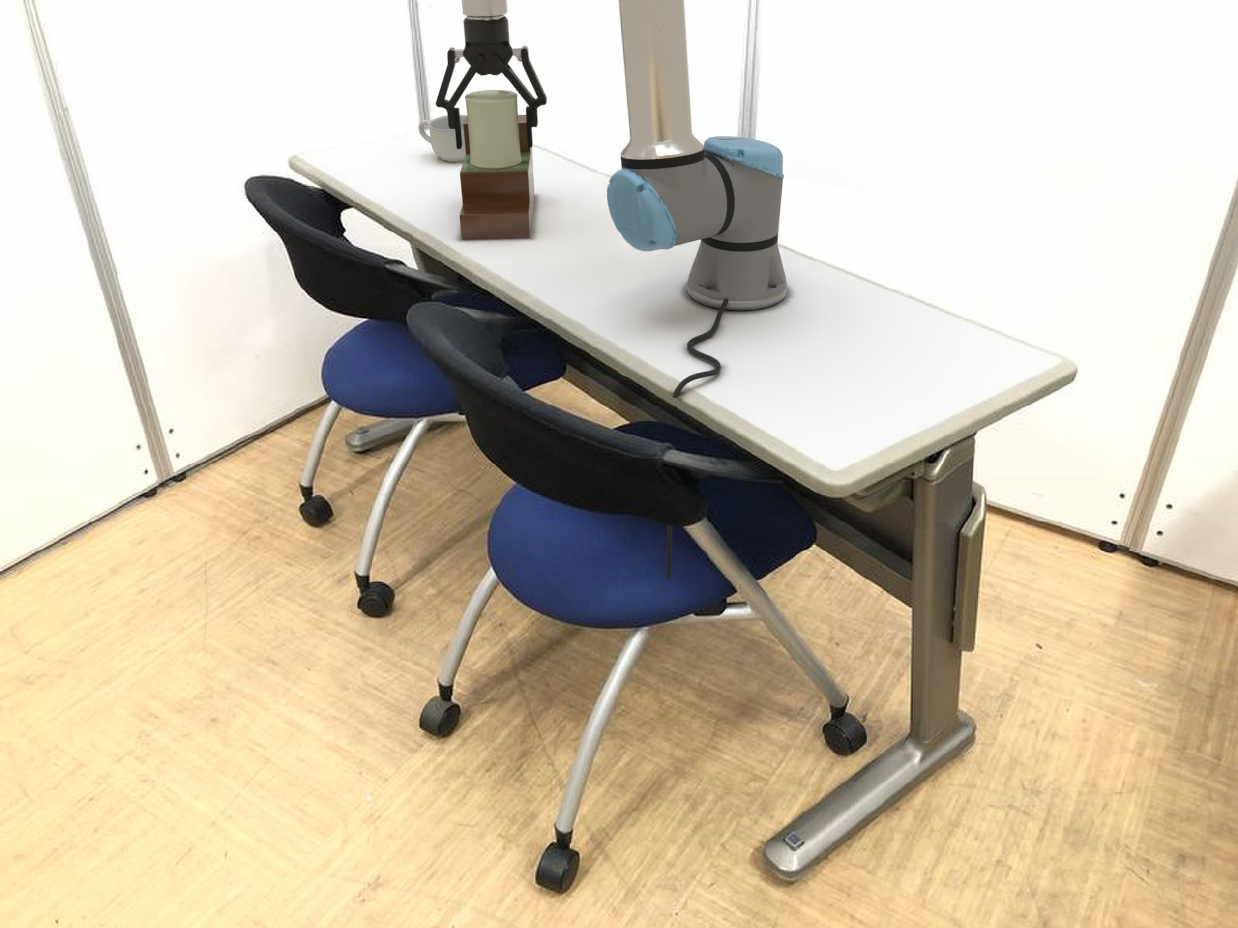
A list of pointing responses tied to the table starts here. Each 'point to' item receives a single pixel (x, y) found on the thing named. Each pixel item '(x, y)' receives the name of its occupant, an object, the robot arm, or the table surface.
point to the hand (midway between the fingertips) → (495, 146)
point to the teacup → (444, 138)
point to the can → (493, 129)
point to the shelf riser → (497, 195)
